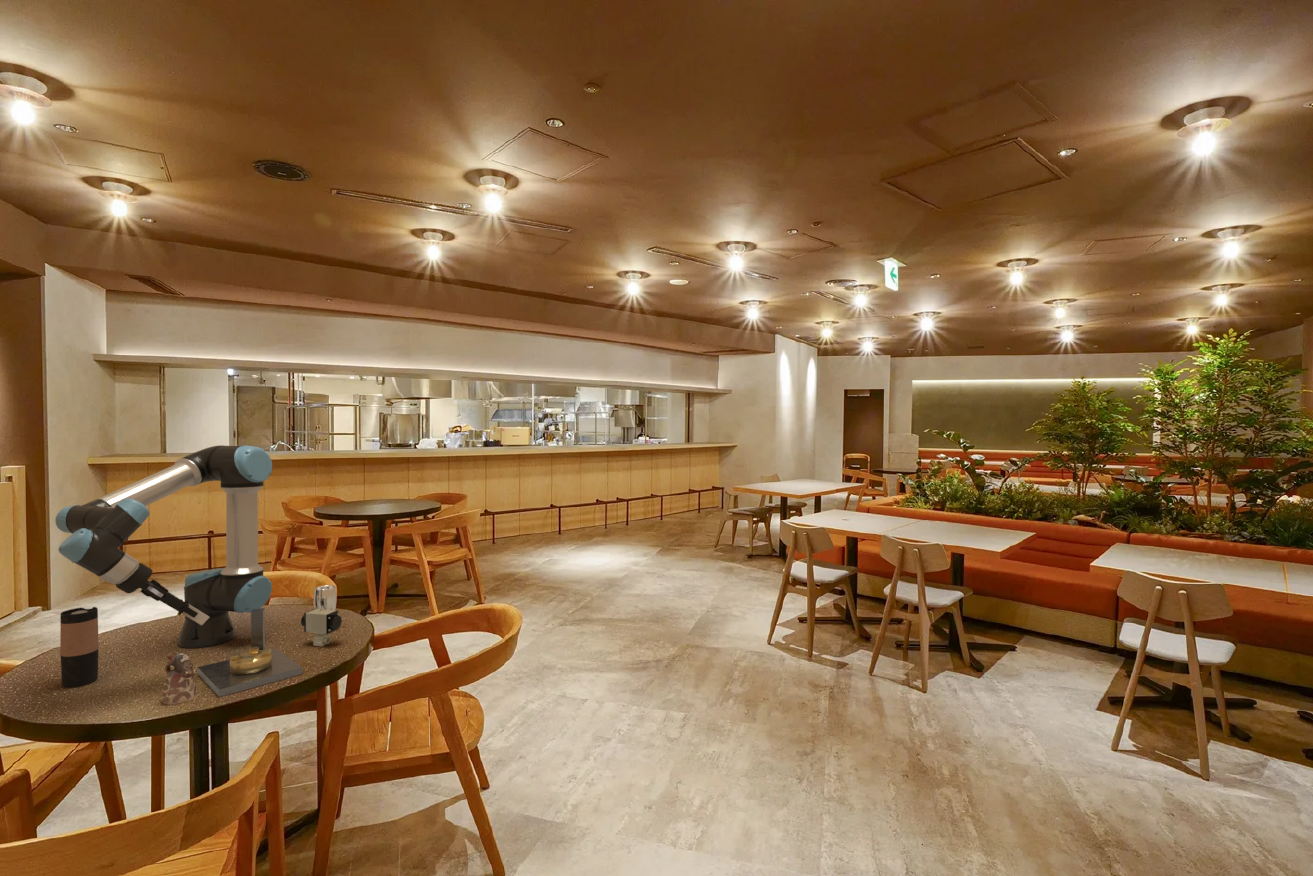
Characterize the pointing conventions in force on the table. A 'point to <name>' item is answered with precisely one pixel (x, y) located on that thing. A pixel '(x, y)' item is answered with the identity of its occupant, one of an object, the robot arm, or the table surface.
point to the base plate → (230, 683)
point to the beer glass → (325, 597)
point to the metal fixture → (253, 648)
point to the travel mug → (79, 646)
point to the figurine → (179, 680)
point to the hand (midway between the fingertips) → (205, 620)
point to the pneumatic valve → (321, 624)
